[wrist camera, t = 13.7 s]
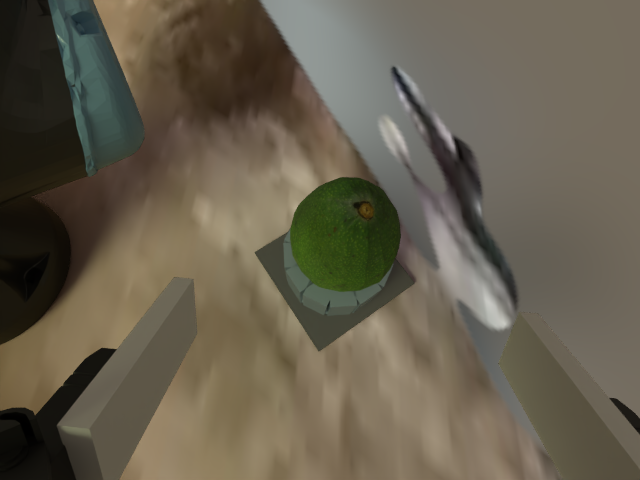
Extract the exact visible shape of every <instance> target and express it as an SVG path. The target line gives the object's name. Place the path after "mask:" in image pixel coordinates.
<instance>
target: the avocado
mask: <svg viewBox="0 0 640 480" xmlns="http://www.w3.org/2000/svg"><path fill="white" fill-rule="evenodd" d="M400 238H401V233H400V225H399V218H398V214H397V210H396V209H395V207H394V206H393V204H392V203H391V201H390V200H389V198H388V197H387V195H386V194H385V192H384V191H383V190H382V189H381V188H380V187H378V186H375V185H374V184H372V183H370V182H369V181H366V180H364V179H361V178H349V177H341V178H338V179H335V180H333V181H330V182H328V183H325V184H323V185H321V186H319V187H318V188H316V189H315V190H314V191H313V192H312V193H310V194H309V195H308V196H307V197H306V198H305V199H304V200H303V201H302V202H301V203H300V204H299V206H298V207H297V209H296V211H295V213H294V217H293V221H292V225H291V229H290V242H291V249H292V255H293V258H294V259H295V261H296V263H297V265H298V266H299V268H300V270H301V272H302V273H303V274H304V275H305V276H306V277H307V278H308V279H309V280H310V281H311V282H312V283H313V284H315V285H317V286H318V287H321V288H324V289H329V290H333V291H338V292H347V291H360V290H363V289H365V288H367V287H370V286H372V285H374V284H376V283H379V282H380V281H381V280H382V279H383V277H384V276H385V275H386V274H387V272H388V271H389V270H390V268H391V266H392V264H393V262H394V260H395V257H396V255H397V252H398V249H399V244H400Z"/></svg>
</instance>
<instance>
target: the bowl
mask: <svg viewBox="0 0 640 480" xmlns="http://www.w3.org/2000/svg"><path fill="white" fill-rule="evenodd" d="M290 229H291V228H290ZM284 242H285V243H283V247H284V268H285V272H286V277H287V281H288V284H289V286H290V288H291V289H292V291H293V292H294V294H295V295H296V297H297V298H298V300H299V301H300V303H303V305H304V306H306V307H308V308H310V309H312V310H314V311H316V312H318V313H320V314H322V315H324V314H326V315H327V316H334V315H348V314H351V312H352V313H354V312H356V311H357V310H358V309H360V308H361V307H363V306H364V305H365V304H367V303H368V302H370V301H371V300H372V299H373V298H374V297H375V296H376V295H377V294H378V293H379V292H380V291H381V290H382V288H383V287H384V286H385V283H386V281H387V279H388V276H389V274H390V272H391V269H392V267H393V265H394V264H392V266H391V268H390V270H389V271H388V272H387V274H386V275H385V276H384V277H383V279H382V280H381V281H380V282H379V283H376V284H374V285H372V286H370V287H367V288H365V289H363V290H360V291H347V292H338V291H333V290H329V289H324V288H321V287H318V286H317V285H315V284H313V283H312V282H311V281H310V280H309V279H308V278H307V277H306V276H305V275H304V274H303V273H302V272H301V270H300V268H299V266H298V265H297V263H296V261H295V259H294V258H293V255H292V249H291V242H290V230H289V232H288V233H287V235H286V237H285V239H284Z"/></svg>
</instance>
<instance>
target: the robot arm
mask: <svg viewBox="0 0 640 480" xmlns="http://www.w3.org/2000/svg"><path fill="white" fill-rule="evenodd" d="M144 134H145V131H144V125H143V122H142V119H141V116H140V114H139V111H138V108H137V106H136V103H135V101H134V98H133V96H132V93H131V91H130V88H129V86H128V83H127V81H126V78H125V76H124V73H123V71H122V68H121V66H120V63H119V61H118V59H117V56H116V54H115V51H114V49H113V47H112V44H111V42H110V40H109V37H108V35H107V32H106V30H105V28H104V25H103V23H102V20H101V18H100V16H99V13H98V11H97V8H96V6H95V4H94V1H93V0H0V344H3V343H5V342H7V341H9V340H11V339H12V338H14V337H16V336H17V335H19V334H20V333H22V332H23V331H25V330H26V329H27V328H29V327H30V326H31V325H32V324H33V323H35V322H36V321H37V320H38V319H39V318H40V317H41V316H42V315H43V314H44V313H45V312H46V310H47V309H48V308H49V307H50V305H51V304H52V303H53V301H54V300H55V298H56V297H57V295H58V293H59V292H60V290H61V288H62V286H63V283H64V281H65V278H66V276H67V272H68V269H69V264H70V241H69V237H68V233H67V231H66V228H65V226H64V224H63V223H62V221H61V220H60V218H59V217H58V216H57V215H56V214H55V213H54V212H53V211H52V210H51V209H50V208H48V207H47V206H45V205H44V204H42V203H41V202H39V201H37V200H36V199H34V198H32V197H31V196H34V195H37V194H39V193H42V192H45V191H47V190H50V189H53V188H55V187H58V186H61V185H64V184H66V183H69V182H72V181H74V180H77V179H80V178H83V177H85V176H88V177H91V176H93V175H94V174H96V173H97V171H98V170H99V169H101V168H103V167H106V166H108V165H110V164H112V163H115V162H117V161H119V160H122V159H124V158H126V157H129V156H131V155H132V154H134V153H135V152H136V151H137V150H138V149H139V148H140V146H141V144H142V142H143V140H144ZM196 335H197V323H196V309H195V295H194V281H193V279H189V278H179V277H174V278H173V279H172V281H171V282H170V283H169V284H168V286H167V287H166V288H165V289H164V291H163V292H162V293H161V294H160V296H159V297H158V298H157V300H156V301H155V302H154V303H153V305H152V306H151V307H150V308H149V310H148V311H147V312H146V313H145V315H144V316H143V317H142V318H141V320H140V321H139V322H138V323H137V325H136V326H135V327H134V329H133V330H132V331H131V332H130V334H129V335H128V336H127V337H126V339H125V340H124V341H123V342H122V344H121V345H120V346H119V347H118V349H108V348H101V349H99V350H98V351H96V352H95V353H93V354H92V355H90V356H89V357H87V358H86V359H85V360H84V361H83V362H82V363H81V364H80V365H79V366H78V368H77V369H76V370H75V371H74V372H73V375H71V376H70V377H69V378H68V379H67V380H66V381H65V382H64V385H63V386H61V387H60V388H59V389H58V390H57V391H56V393H55V394H54V395H53V396H52V397H51V398H50V399H49V401H48V402H47V403H46V404H45V405H44V406H43V407H42V409H41V410H40V411H39V412H38V413H37V414H36V415H34V412H33V411H31V410H29V409H27V408H10V409H6V410H2V411H0V480H119V479H120V477H121V475H122V473H123V471H124V469H125V467H126V466H127V464H128V462H129V460H130V458H131V456H132V454H133V452H134V451H135V449H136V447H137V445H138V443H139V441H140V439H141V438H142V436H143V434H144V432H145V430H146V428H147V426H148V424H149V423H150V421H151V419H152V417H153V415H154V413H155V411H156V409H157V408H158V406H159V404H160V402H161V400H162V398H163V396H164V394H165V393H166V391H167V389H168V387H169V385H170V383H171V381H172V379H173V378H174V376H175V374H176V372H177V370H178V368H179V366H180V365H181V363H182V361H183V359H184V357H185V355H186V353H187V351H188V350H189V348H190V346H191V344H192V342H193V340H194V338H195V336H196ZM498 364H499V365H500V367H501V369H502V371H503V373H504V374H505V376H506V378H507V380H508V382H509V384H510V385H511V387H512V389H513V390H514V393H515V394H516V396H517V398H518V400H519V401H520V403H521V405H522V407H523V409H524V410H525V412H526V414H527V416H528V418H529V419H530V421H531V423H532V425H533V427H534V428H535V430H536V432H537V434H538V436H539V437H540V439H541V441H542V443H543V445H544V446H545V448H546V450H547V452H548V454H549V455H550V457H551V459H552V461H553V463H554V464H555V466H556V468H557V470H558V472H559V473H560V475H561V477H562V479H563V480H640V418H639V417H638V416H637V415H636V414H635V413H634V412H633V411H632V410H630V409H629V408H628V407H626V406H625V405H624V404H623V403H621V402H620V401H619V400H618V399H615V398H608V396H607V395H606V394H605V393H604V392H603V390H602V389H601V388H600V387H599V386H598V384H597V383H596V382H595V381H594V380H593V378H592V377H591V376H590V375H589V374H588V372H587V371H586V370H585V369H584V368H583V367H582V366H581V364H580V363H579V362H578V361H577V359H576V358H575V357H574V356H573V355H572V353H571V352H570V351H569V350H568V349H567V347H566V346H565V345H564V344H563V343H562V341H561V340H560V339H559V338H558V337H557V335H556V334H555V333H554V332H553V331H552V329H551V328H550V327H549V326H548V325H547V324H546V322H545V321H544V320H543V319H542V318H541V316H540V315H539V314H535V313H525V312H519V314H518V316H517V319H516V321H515V324H514V326H513V329H512V331H511V334H510V336H509V338H508V341H507V343H506V346H505V348H504V351H503V353H502V356H501V358H500V361H499V363H498Z"/></svg>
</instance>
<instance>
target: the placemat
mask: <svg viewBox="0 0 640 480" xmlns="http://www.w3.org/2000/svg"><path fill="white" fill-rule="evenodd" d="M287 233H288V232H287ZM287 233H286V234H284V235H282V236H281V237H279V238H278V239H276V240H274V241H273V242H271V243H269V244H268V245H266V246H264V247H263V248H261V249H260V250H258V251H256V252H255V254H256V256H257V257H258V259H259V260H260V262H261V263H262V265H263V266H264V268H265V269H266V271H267V272H268V274H269V276H270V277H271V279H272V280H273V282H274V283H275V285H276V286H277V288H278V289H279V291H280V292H281V294H282V296H283V297H284V299H285V300H286V302H287V303H288V305H289V306H290V308H291V309H292V311H293V312H294V314H295V316H296V317H297V319H298V320H299V322H300V323H301V325H302V326H303V328H304V329H305V331H306V332H307V334H308V336H309V337H310V339H311V340H312V342H313V343H314V345H315V346H316V348H317V349H318V351H320V350H322V349H323V348H324V347H326V346H327V345H329V344H330V343H331V342H333V341H334V340H336V339H337V338H338V337H340V336H341V335H343V334H344V333H345V332H347V331H348V330H350V329H351V328H353V327H354V326H355V325H357V324H358V323H360V322H361V321H362V320H364V319H365V318H367V317H368V316H369V315H371V314H372V313H374V312H375V311H376V310H378V309H379V308H381V307H382V306H383V305H385V304H386V303H388V302H389V301H390V300H392V299H393V298H395V297H396V296H397V295H399V294H400V293H402V292H403V291H404V290H406V289H407V288H409V287H410V286H411V285H413V284H414V282H413V280H412V279H411V278H410V276H409V275H408V274H407V273H406V271H405V270H404V269H403V267H402V266H401V265H400V264H399V262H398V261H397V260H396V258H395V260H394V262H393V264H394V265H393V267H392V269H391V272H390V274H389V276H388V279H387V281H386V283H385V286H384V287H383V288H382V290H381V291H380V292H379V293H378V294H377V295H376V296H375V297H374V298H373V299H372V300H371V301H370V302H368V303H367V304H365V305H364V306H363V307H361V308H360V309H358V310H357V311H356V312H354V313H352V312H351V314H348V315H334V316H327V315H326V314H324V315H322V314H320V313H318V312H316V311H314V310H312V309H310V308H308V307H306V306H304V305H303V303H300V301H299V300H298V298H297V297H296V295H295V294H294V292H293V291H292V289H291V288H290V286H289V284H288V281H287V277H286V272H285V268H284V247H283V243H285V242H284V239H285V237H286V235H287Z"/></svg>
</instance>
